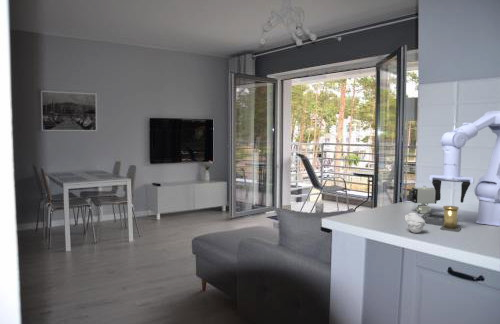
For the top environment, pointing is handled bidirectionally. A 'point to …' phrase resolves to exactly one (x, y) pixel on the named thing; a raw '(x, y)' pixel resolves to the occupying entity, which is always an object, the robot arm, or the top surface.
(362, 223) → the top surface
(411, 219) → the white lumpy ball
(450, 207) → the gold metal cylinder
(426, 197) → the pneumatic valve
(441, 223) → the housing
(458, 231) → the mat
